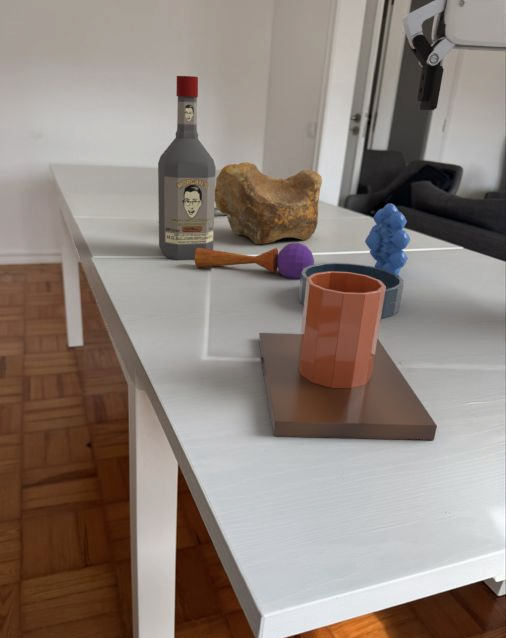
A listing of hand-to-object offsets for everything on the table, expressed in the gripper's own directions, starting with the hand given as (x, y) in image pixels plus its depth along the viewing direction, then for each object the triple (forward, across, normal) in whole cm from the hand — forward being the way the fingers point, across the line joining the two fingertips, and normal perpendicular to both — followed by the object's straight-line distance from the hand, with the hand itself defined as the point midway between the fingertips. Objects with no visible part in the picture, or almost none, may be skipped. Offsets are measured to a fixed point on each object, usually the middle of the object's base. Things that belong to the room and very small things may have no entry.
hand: (473, 111), depth 57 cm
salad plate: (+26, +28, -88) cm, 96 cm away
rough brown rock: (+26, +15, -55) cm, 63 cm away
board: (+26, +14, +12) cm, 32 cm away
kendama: (+26, +20, -28) cm, 43 cm away
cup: (+25, +14, +12) cm, 31 cm away
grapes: (+26, -2, -30) cm, 40 cm away
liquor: (+26, +32, -40) cm, 58 cm away
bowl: (+26, +7, -13) cm, 30 cm away
